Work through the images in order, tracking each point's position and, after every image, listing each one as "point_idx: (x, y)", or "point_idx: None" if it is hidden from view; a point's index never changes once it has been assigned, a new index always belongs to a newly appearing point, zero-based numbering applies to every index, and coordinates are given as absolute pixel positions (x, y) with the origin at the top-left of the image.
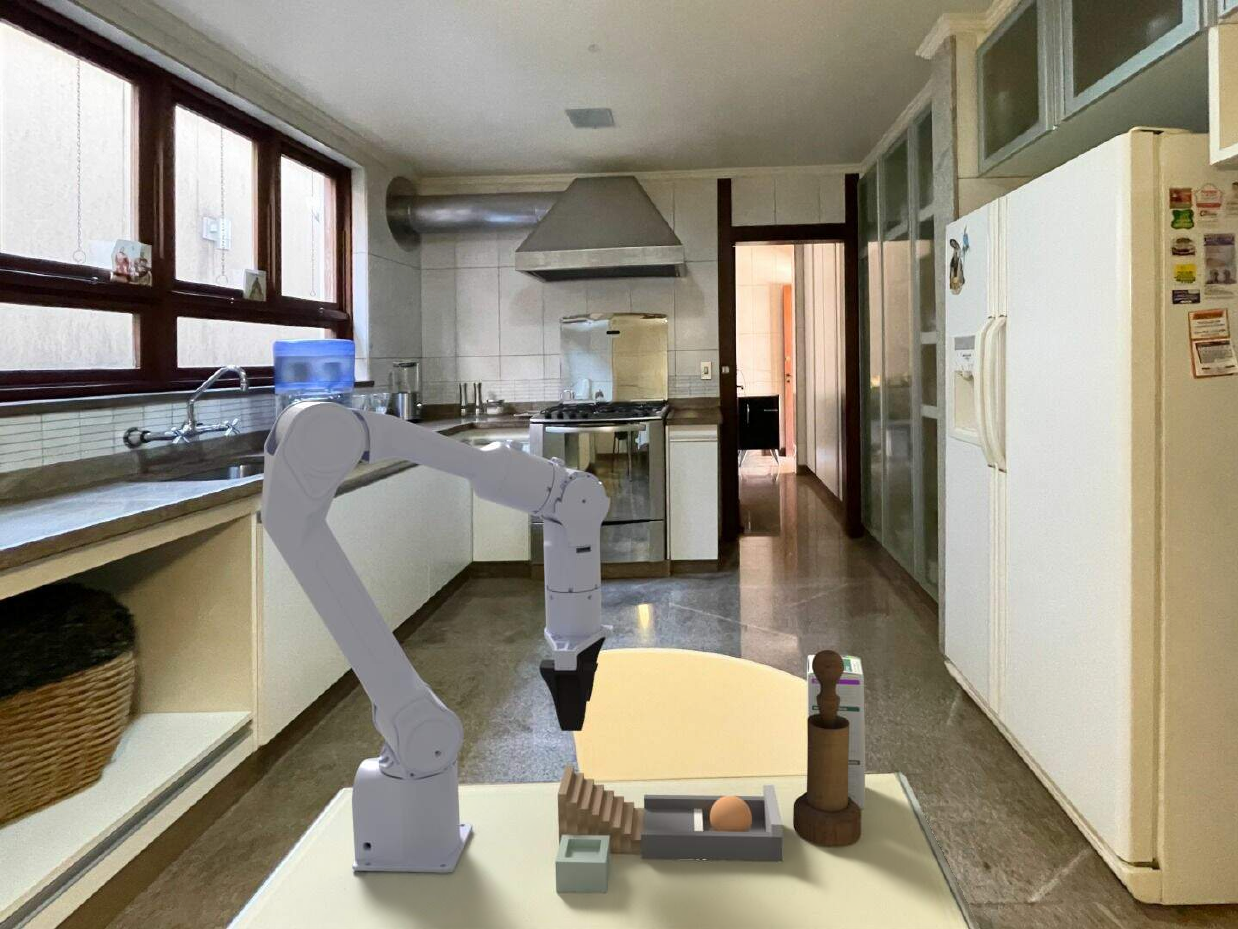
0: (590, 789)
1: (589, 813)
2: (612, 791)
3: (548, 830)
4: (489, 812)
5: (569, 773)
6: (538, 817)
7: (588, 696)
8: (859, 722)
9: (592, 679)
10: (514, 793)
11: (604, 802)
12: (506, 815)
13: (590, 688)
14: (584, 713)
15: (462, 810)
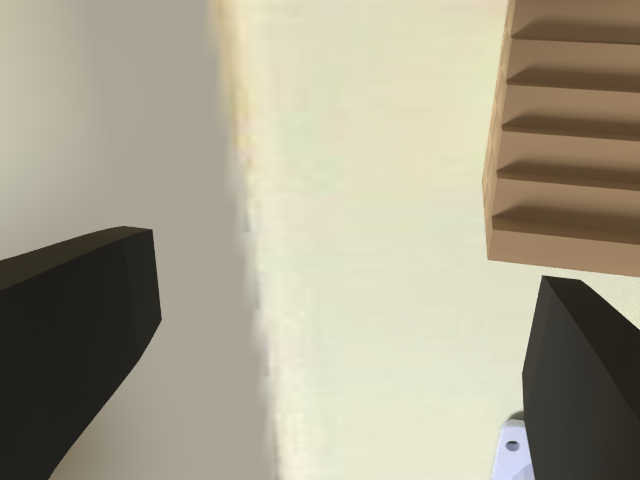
0: (598, 143)
1: None
2: (519, 45)
3: None
4: (417, 380)
5: (572, 246)
6: (455, 263)
7: (136, 246)
8: None
9: (69, 269)
10: (315, 326)
11: (611, 76)
12: (437, 342)
13: (108, 255)
14: (629, 323)
15: (403, 436)
